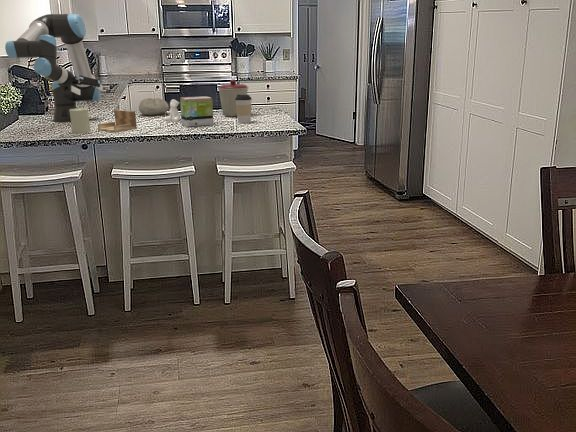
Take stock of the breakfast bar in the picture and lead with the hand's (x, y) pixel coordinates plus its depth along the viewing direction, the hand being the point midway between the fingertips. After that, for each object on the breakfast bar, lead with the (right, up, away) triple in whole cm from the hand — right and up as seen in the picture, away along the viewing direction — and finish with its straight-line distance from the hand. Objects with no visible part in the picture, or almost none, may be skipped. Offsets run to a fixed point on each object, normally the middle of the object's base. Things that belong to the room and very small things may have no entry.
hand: (90, 90), depth 302 cm
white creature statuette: (+36, -11, +33) cm, 50 cm away
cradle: (+11, -19, +7) cm, 23 cm away
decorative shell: (+20, -3, +57) cm, 61 cm away
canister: (+69, -5, +48) cm, 84 cm away
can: (-6, -21, +2) cm, 22 cm away
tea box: (+52, -15, +18) cm, 57 cm away
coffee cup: (+77, -13, +23) cm, 81 cm away
